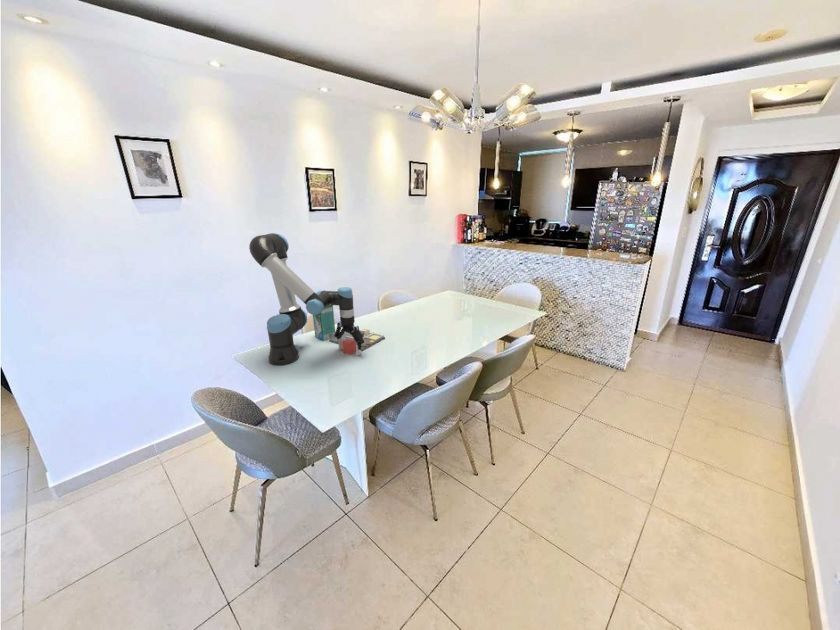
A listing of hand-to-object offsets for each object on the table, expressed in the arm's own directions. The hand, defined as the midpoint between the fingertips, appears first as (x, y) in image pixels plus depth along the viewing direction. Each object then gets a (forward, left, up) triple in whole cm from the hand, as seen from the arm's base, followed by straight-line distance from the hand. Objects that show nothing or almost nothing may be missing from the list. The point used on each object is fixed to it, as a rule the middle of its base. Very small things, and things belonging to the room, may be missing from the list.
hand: (350, 351), depth 190 cm
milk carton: (-28, +8, 0) cm, 29 cm away
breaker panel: (-8, +15, 0) cm, 17 cm away
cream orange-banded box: (-6, +21, +1) cm, 22 cm away
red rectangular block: (0, 0, 0) cm, 0 cm away
